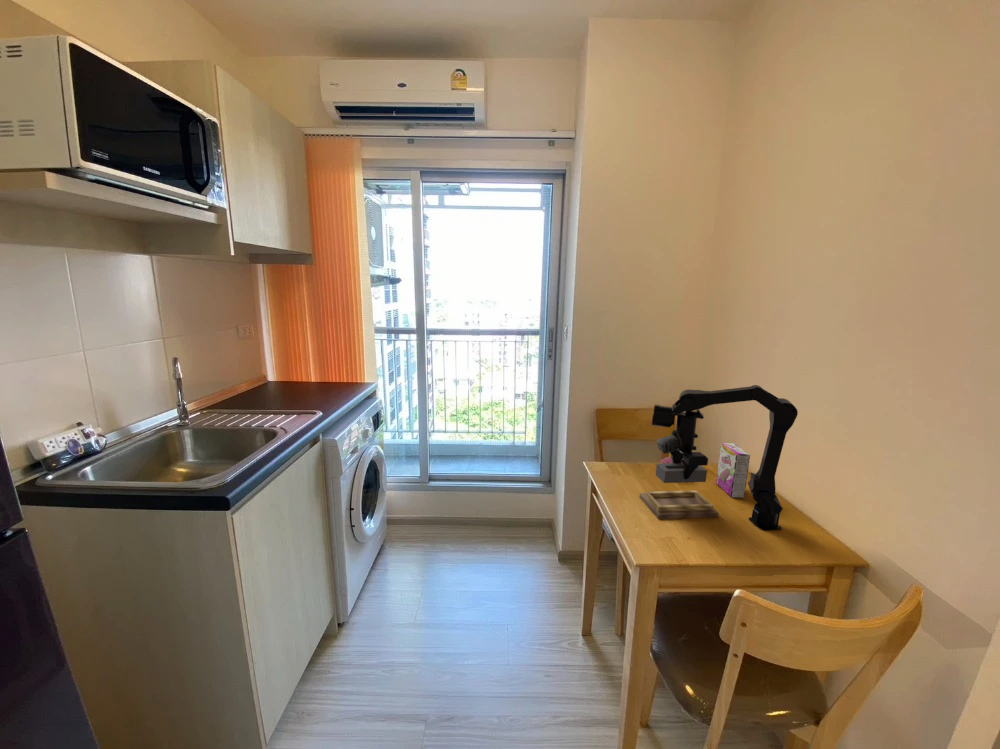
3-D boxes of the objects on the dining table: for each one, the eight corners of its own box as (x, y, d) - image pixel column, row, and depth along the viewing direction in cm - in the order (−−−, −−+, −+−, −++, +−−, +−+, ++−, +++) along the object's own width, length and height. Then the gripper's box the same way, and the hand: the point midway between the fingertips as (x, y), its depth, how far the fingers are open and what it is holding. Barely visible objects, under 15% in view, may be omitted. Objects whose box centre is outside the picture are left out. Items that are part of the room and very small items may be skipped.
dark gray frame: (695, 473, 139) (696, 462, 138) (705, 481, 133) (707, 470, 132) (655, 474, 138) (656, 463, 137) (664, 483, 132) (665, 471, 131)
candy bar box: (714, 483, 155) (720, 442, 152) (728, 484, 155) (733, 442, 152) (730, 498, 144) (736, 454, 141) (745, 498, 144) (751, 454, 141)
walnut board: (694, 495, 145) (695, 488, 144) (718, 517, 131) (719, 508, 131) (639, 497, 143) (640, 489, 143) (657, 518, 130) (658, 510, 129)
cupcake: (654, 472, 164) (657, 443, 162) (671, 469, 167) (674, 441, 165) (670, 481, 156) (673, 451, 154) (687, 478, 159) (690, 448, 157)
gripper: (648, 420, 140) (644, 463, 143) (676, 440, 122) (671, 488, 125) (679, 420, 141) (675, 463, 144) (711, 439, 123) (706, 487, 126)
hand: (680, 474), depth 135 cm, fingers closed on dark gray frame, 6 cm apart
